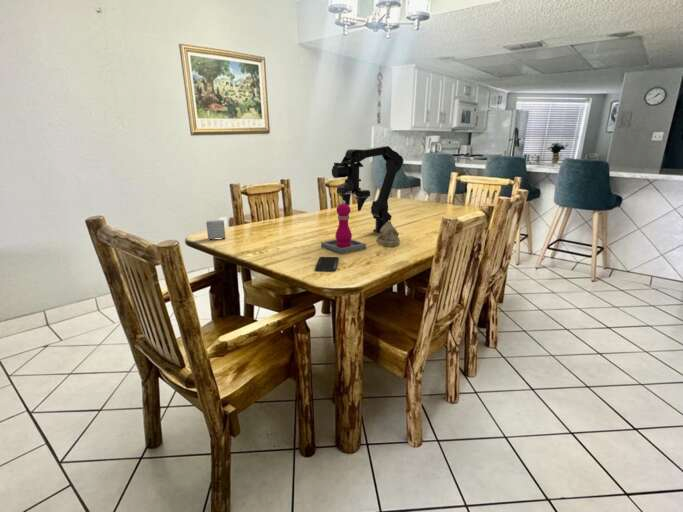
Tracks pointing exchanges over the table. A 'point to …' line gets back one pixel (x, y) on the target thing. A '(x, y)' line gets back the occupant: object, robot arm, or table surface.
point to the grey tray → (333, 247)
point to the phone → (327, 264)
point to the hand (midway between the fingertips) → (352, 209)
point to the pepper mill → (343, 226)
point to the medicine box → (215, 229)
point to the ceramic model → (388, 235)
